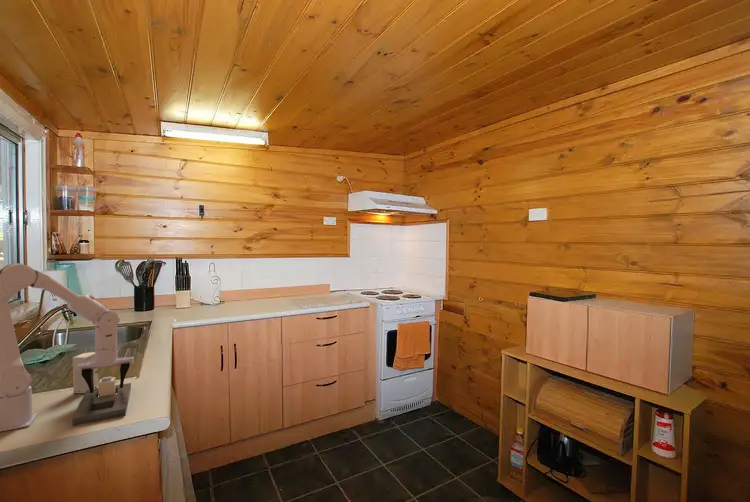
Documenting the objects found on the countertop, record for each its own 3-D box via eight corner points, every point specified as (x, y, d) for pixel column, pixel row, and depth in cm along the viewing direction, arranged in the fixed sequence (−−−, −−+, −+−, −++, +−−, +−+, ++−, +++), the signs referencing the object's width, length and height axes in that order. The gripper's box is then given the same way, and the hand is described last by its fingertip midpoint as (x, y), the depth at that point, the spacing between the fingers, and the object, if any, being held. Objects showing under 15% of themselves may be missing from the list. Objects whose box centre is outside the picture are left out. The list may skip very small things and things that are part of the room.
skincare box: (86, 393, 121) (85, 357, 121) (72, 394, 121) (71, 357, 121) (99, 386, 127) (98, 351, 127) (85, 386, 127) (85, 352, 127)
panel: (72, 425, 101) (72, 418, 101) (86, 396, 120) (86, 390, 120) (125, 415, 107) (125, 408, 107) (130, 388, 126) (130, 382, 126)
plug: (98, 402, 115) (98, 380, 115) (100, 397, 119) (100, 376, 118) (114, 399, 117) (113, 378, 117) (115, 395, 121) (115, 374, 120)
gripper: (134, 341, 124) (134, 381, 125) (79, 347, 117) (80, 389, 118) (132, 346, 118) (133, 388, 119) (75, 353, 111) (76, 397, 112)
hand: (107, 389), depth 118 cm, fingers open, 7 cm apart
